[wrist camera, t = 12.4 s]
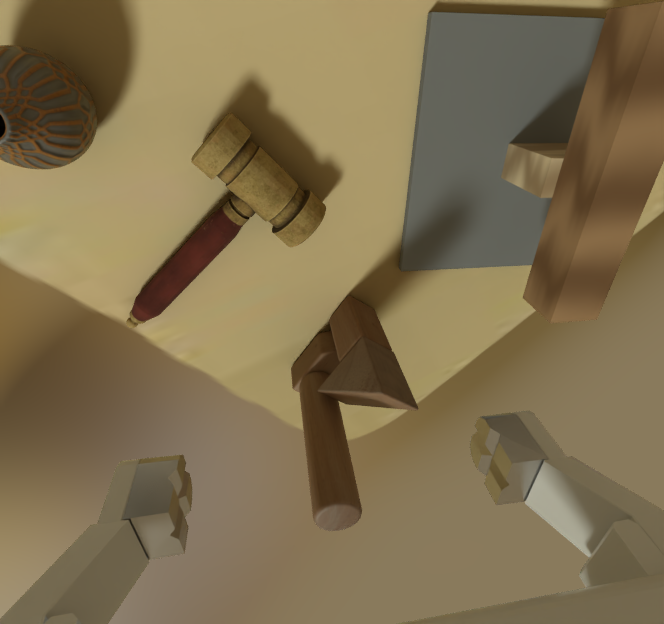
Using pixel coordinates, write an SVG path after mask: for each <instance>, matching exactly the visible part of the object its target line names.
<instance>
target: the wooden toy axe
mask: <svg viewBox="0 0 664 624" xmlns="http://www.w3.org/2000/svg"><path fill="white" fill-rule="evenodd" d="M329 322H330V326H331V330H332V331H328V332H323V333H319V334H318V335H317V336H316V337H315V338H314V340H313V341H312V342H311V343H310V345H309V346H308V347H307V348H306V350H305V351H304V352H303V353H302V355H301V356H300V357H299V359H298V360H297V361H296V362H295V364H294V365H293V366H292V368H291V374H292V386H293V389H294V390H295V391H297V392H300V401H301V410H302V419H303V428H304V438H305V447H306V456H307V465H308V475H309V484H310V493H311V502H312V512H313V519H314V522H315V523H316V525H317V526H318V527H319V528H321V529H324V530H328V531H337V530H343V529H346V528H348V527H351V526H352V525H354V524H355V523H357V521H358V520H359V519H360V517H361V514H362V508H361V503H360V499H359V494H358V489H357V485H356V480H355V476H354V471H353V466H352V462H351V457H350V453H349V448H348V444H347V439H346V434H345V430H344V425H343V420H342V416H341V411H340V407H339V402H338V401H340V402H343V403H345V404H349V405H361V406H372V407H384V408H395V409H406V410H418V406H417V404H416V402H415V400H414V397H413V395H412V393H411V390H410V388H409V386H408V384H407V381H406V379H405V377H404V375H403V372H402V370H401V368H400V365H399V363H398V361H397V359H396V356H395V354H394V352H392V349H391V346H390V344H389V342H388V340H387V337H386V335H385V333H384V330H383V328H382V326H381V324H380V321H379V319H378V317H377V315H376V312H375V310H374V309H373V308H371V307H369V306H367V305H365V304H364V303H362V302H360V301H358V300H357V299H355V298H353V297H351V296H347V297H346V299H345V300H344V301H343V302H342V304H341V305H340V306H339V307H338V309H337V310H336V311H335V313H334V314H333V315H332V316H331V318H330V320H329Z"/></svg>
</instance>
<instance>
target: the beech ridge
mask: <svg viewBox="0 0 664 624" xmlns="http://www.w3.org/2000/svg"><path fill="white" fill-rule="evenodd" d="M567 146H568V143H509V145H508V149H507V154H506V158H505V162H504V167H503V171H502V175H501V178H502V179H504V180H506V181H508V182H510V183H512V184H514V185H516V186H518V187H520V188H522V189H524V190H526V191H528V192H530V193H532V194H534V195H536V196H538V197H540V198H552V197H553V193H554V190H555V186H556V183H557V180H558V176H559V173H560V169H561V166H562V163H563V159H564V156H565V152H566V149H567Z"/></svg>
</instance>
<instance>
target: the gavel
mask: <svg viewBox="0 0 664 624" xmlns="http://www.w3.org/2000/svg"><path fill="white" fill-rule="evenodd" d="M250 134H251V131H250V130H249V129H248V128H247V127H246V126H245V125H244V124H243V123H242V122H241V121H240V120H239V119H238V118H237V117H236V116H235V115H234V114H233V113H230V114H227V115H226V117H225V118H224V119H223V120H222V121H221V122H220V123H219V125H218V126H217V127H216V128H215V129H214V131H213V132H212V133H211V134H210V136H209V137H208V138H207V139H206V140H205V142H204V143H203V144H202V145H201V146H200V148H199V149H198V150H197V151H196V153H195V154H194V155H193V157H192V163H193V164H194V165H195V166H197V167H198V168H199V169H200V170H201V171H202V172H204V173H205V174H206V175H207V176H208V177H209V178H210V179H213V178H215V177H216V176H218V177H219V178H220V179H221V180H222V181H223V182H225V183H226V187H227V188H228V189H229V190H230V191H232V192H233V193H234V194H233V195H232V196H231V199H229V200H228V201H227V202H226V204H225V205H224V206H223V207H221V208H220V209H218V210H217V211H216V212H214V213H213V214H212V215H211V216H210V217H209V218H208V219H207V220H206V221H205V222H204V223H203V225H202V226H201V227H200V228H199V229H198V230H197V231H196V232H195V233H194V234H193V235H192V237H191V238H190V239H189V240H188V241H187V242H186V243H185V244H184V245H183V246H182V247H181V249H180V250H179V251H178V252H177V253H176V254H175V255H174V256H173V257H172V258H171V259H170V261H169V262H168V263H167V264H166V265H165V266H164V267H163V268H162V269H161V270H160V271H159V273H158V274H157V275H156V276H155V277H154V278H153V279H152V280H151V281H150V282H149V284H148V285H147V286H146V287H145V288H144V289H143V290H142V291H141V292H140V293H139V294H138V296H137V297H136V299H135V302H134V305H133V308H132V310H131V312H130V318H128V320H127V322H126V324H127V326H128V327H130V328H134V327H136V326H137V325H138V323H139V324H141V323H144V322H146V321H147V320H149V319H151V318H154V317H156V316H158V315H160V314H161V313H162V312H163V311H164V310H165V309H166V308H167V307H168V306H169V305H170V304H171V303H172V302H173V301H174V299H175V298H176V297H177V296H178V295H179V294H180V293H181V292H182V291H183V290H184V289H185V288H186V287H187V286H188V285H189V284H190V283H191V282H192V281H193V280H194V279H195V278H196V277H197V276H198V275H199V274H200V273H201V272H202V271H203V270H204V269H205V268H206V267H207V266H208V264H209V263H210V262H211V261H212V260H213V259H214V258H215V257H216V256H217V255H218V254H219V253H220V252H221V251H222V250H223V249H224V248H225V247H226V246H227V245H228V244H229V243H230V242H231V241H232V240H233V239H234V238H235V237H236V235H237V234H238V232H239V231H240V229H241V227H242V226H243V225H244V224H245V223H246V222H247V221H248V219H249V217H252V216H253V215H254V214H255V213H257V214H258V215H259V216H260V217H261V218H262V219H264V220H265V221H269V222H270V223H271V224H272V225H273V228H272V232H273V233H274V234H275V235H276V236H277V237H278V238H280V239H281V240H282V241H283V242H284V243H285V244H286V245H288V246H289V247H293V246H297V245H299V244H301V243H302V242H304V241H305V240H306V239H307V238H308V237H309V236H310V235H311V234H312V233H313V232H314V231H315V230H316V229H317V227H318V226H319V225H320V223H321V222H322V220H323V218H324V215H325V211H326V206H325V205H324V204H323V203H322V202H321V201H320V200H319V199H318V198H317V197H316V196H315V195H314V194H313V193H312V192H311V191H310V190H305V191H302V190H301V189H300V188H299V187H298V183H297V182H296V181H294V180H293V179H292V178H291V177H290V176H289V175H288V174H287V173H286V172H285V171H284V170H283V169H282V168H281V167H280V166H279V165H278V164H277V163H276V162H275V161H274V160H273V159H272V158H271V157H270V156H269V155H268V154H267V153H266V152H265V151H264V150H263V149H262V148H261V147H260V146H259V147H257V146H256V145H255V144H254V143H253V142H252V141H251V140H250V139H249V136H250Z"/></svg>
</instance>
